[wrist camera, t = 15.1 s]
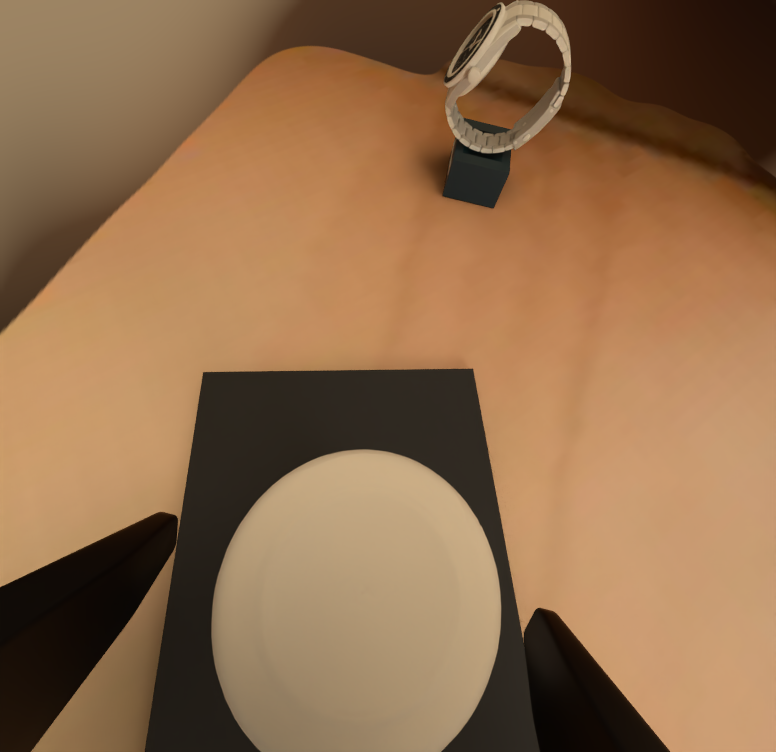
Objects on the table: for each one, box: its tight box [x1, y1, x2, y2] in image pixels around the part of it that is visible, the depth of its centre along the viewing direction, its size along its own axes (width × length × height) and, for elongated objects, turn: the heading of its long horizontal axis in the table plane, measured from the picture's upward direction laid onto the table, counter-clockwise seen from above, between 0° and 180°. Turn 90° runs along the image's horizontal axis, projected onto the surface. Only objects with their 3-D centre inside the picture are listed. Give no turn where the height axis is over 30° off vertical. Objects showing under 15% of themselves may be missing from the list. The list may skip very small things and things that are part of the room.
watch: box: [443, 0, 571, 208], centre depth 26 cm, size 6×8×11 cm
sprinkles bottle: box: [211, 449, 501, 752], centre depth 11 cm, size 5×5×14 cm
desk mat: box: [145, 369, 540, 752], centre depth 18 cm, size 20×16×1 cm
